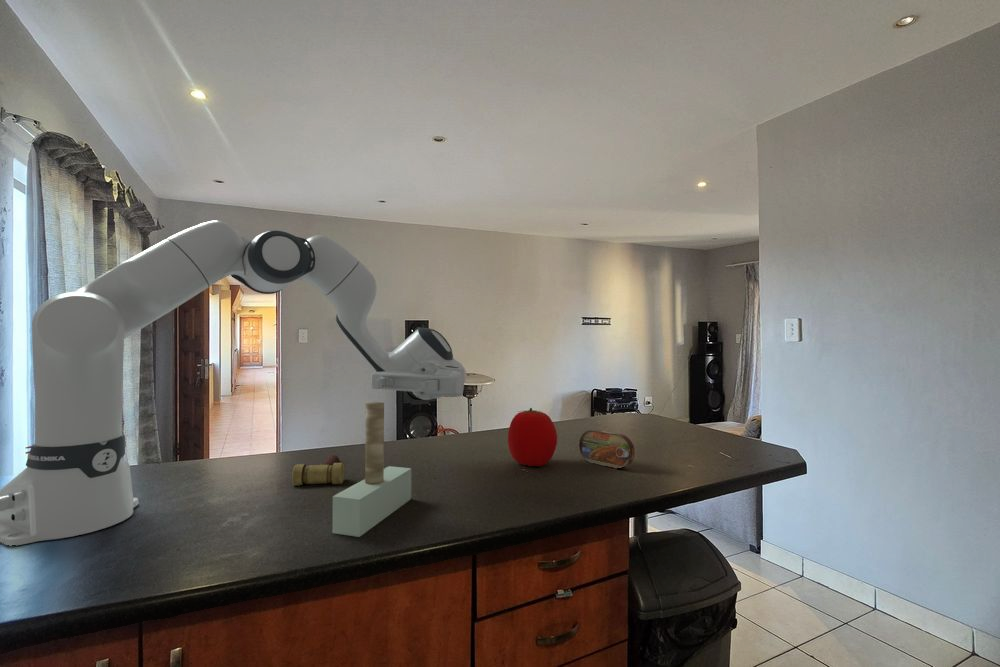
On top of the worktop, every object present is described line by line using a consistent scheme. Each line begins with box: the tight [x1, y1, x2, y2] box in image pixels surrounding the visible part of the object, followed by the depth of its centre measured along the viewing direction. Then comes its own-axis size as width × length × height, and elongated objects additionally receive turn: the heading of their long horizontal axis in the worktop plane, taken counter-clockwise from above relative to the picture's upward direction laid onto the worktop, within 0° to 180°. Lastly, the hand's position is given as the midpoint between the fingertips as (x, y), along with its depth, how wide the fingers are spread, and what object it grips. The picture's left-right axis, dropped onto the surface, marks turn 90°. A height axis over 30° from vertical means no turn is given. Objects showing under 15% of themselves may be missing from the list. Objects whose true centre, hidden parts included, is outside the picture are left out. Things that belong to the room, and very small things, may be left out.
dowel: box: [364, 401, 385, 485], centre depth 83 cm, size 3×3×14 cm
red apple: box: [507, 407, 558, 467], centre depth 117 cm, size 13×11×14 cm
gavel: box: [291, 454, 346, 487], centre depth 109 cm, size 21×5×10 cm
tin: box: [578, 429, 636, 468], centre depth 117 cm, size 15×3×8 cm, turn 43°
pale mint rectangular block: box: [331, 465, 412, 538], centre depth 84 cm, size 5×18×6 cm, turn 164°
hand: (399, 384), depth 94 cm, fingers open, 8 cm apart
